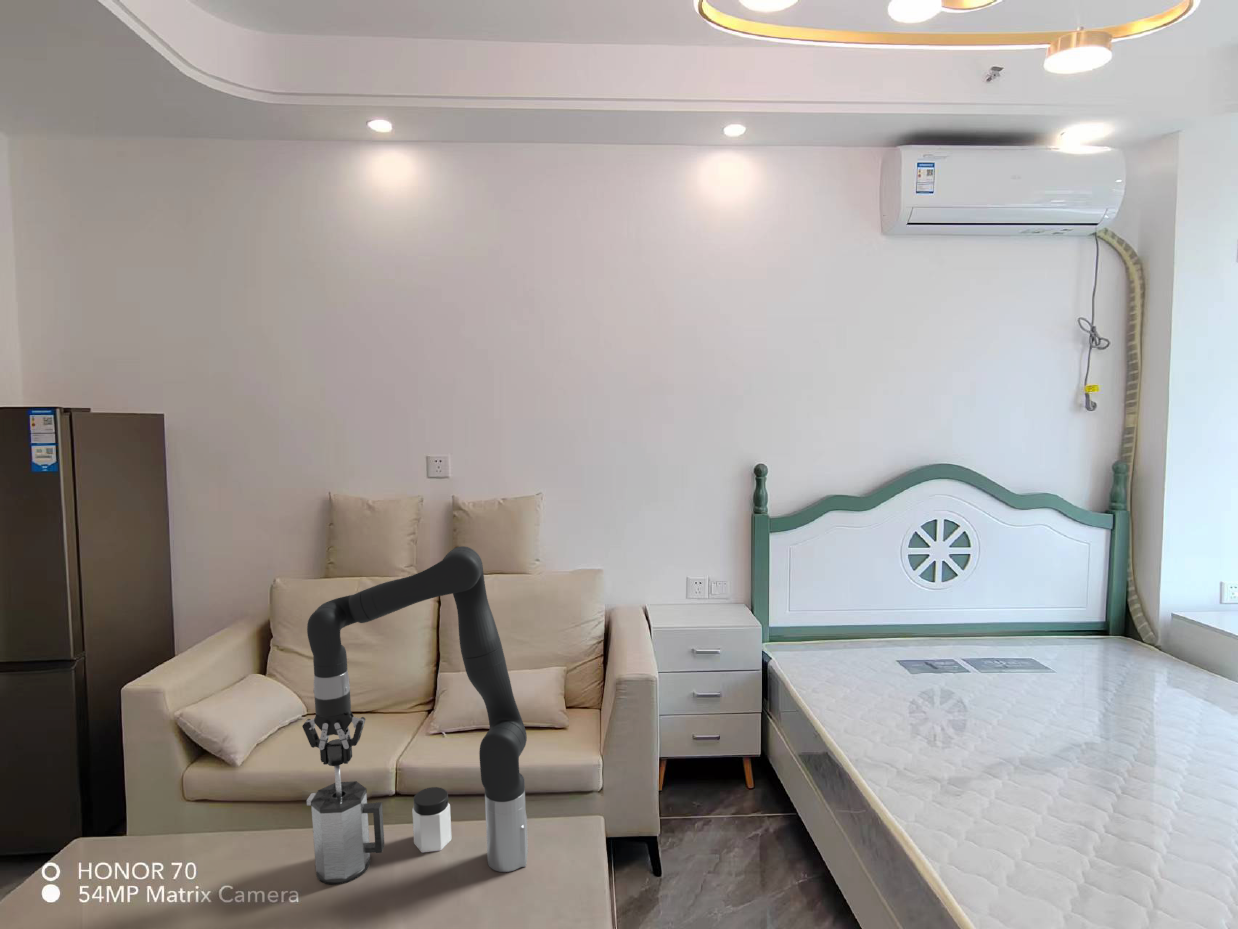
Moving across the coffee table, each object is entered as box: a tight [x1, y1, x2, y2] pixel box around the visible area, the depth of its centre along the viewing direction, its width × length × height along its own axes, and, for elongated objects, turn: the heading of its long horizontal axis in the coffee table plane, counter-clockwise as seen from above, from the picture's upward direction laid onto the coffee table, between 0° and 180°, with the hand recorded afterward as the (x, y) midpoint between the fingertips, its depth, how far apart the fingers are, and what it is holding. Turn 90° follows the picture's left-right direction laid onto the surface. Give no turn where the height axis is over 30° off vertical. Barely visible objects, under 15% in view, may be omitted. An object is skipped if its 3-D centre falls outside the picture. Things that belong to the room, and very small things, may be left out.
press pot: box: [306, 780, 385, 886], centre depth 170 cm, size 16×12×18 cm
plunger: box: [326, 738, 344, 798], centre depth 168 cm, size 4×4×20 cm
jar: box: [411, 786, 452, 853], centre depth 179 cm, size 9×8×12 cm
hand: (336, 762), depth 167 cm, fingers closed on plunger, 4 cm apart
